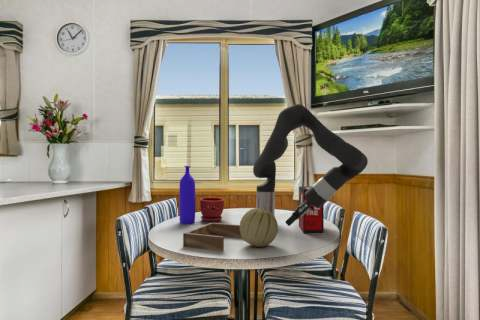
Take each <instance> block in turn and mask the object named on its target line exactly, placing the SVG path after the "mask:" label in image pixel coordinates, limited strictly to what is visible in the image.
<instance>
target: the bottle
mask: <svg viewBox="0 0 480 320" xmlns="http://www.w3.org/2000/svg"><path fill="white" fill-rule="evenodd" d="M190 167H191V165H184V168H185V172H184V175H182V177H181V178H180V180H179V191H178V192H179V197H178V198H179V200H178V202H179V205H178V206H179V209H178V210H179V212H178V213H179V223H180V224H181V223H182V224H181V225H191V224H192V223H193V224H194V223H195V221H196V181H195V178H194V177H193V176H192V175H191V173H190Z"/></svg>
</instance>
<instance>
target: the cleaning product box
mask: <svg viewBox="0 0 480 320" xmlns="http://www.w3.org/2000/svg"><path fill="white" fill-rule="evenodd" d="M310 187H311V186H298V206H299V205H300V204H301V203H302V202H303V201H304V200H305V201H307V198H306V197H305V192H306V191H307V190H308V189H309V188H310ZM324 205H325V204H323V205H322V206H321V207H320V208H316V207H315V206H314V205H312V206H311V208H312V209H311V210H310V211H308V212H307V213H305V214H304V215H303V216H302V217H299V219H298V227H299V229H300V230H301V231H302V233H303V234H304V235H305V234H308V233H325V232H324V229H325V228H324V222H325V221H324V217H325V216H324V208H325V207H324Z"/></svg>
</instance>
